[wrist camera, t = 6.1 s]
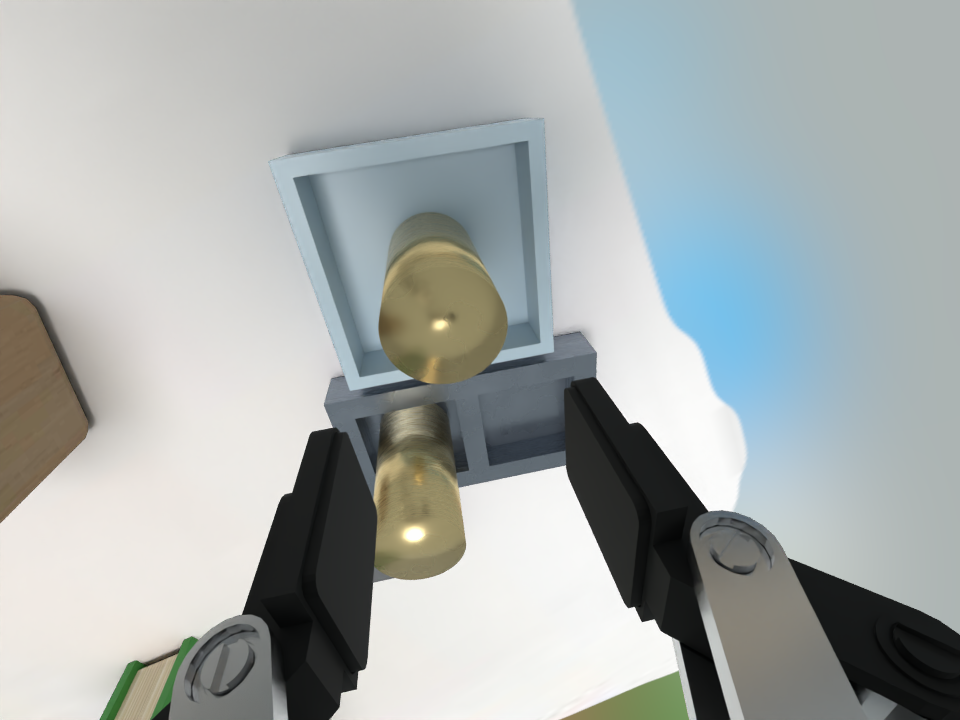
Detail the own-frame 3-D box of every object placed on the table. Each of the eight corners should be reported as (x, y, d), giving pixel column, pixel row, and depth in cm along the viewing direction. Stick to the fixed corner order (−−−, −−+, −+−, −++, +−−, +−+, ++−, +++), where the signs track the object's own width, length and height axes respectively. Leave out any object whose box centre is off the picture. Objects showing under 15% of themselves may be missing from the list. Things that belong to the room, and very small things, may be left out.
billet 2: (371, 407, 29) (356, 529, 20) (443, 393, 29) (457, 508, 21) (389, 459, 31) (382, 587, 23) (454, 446, 32) (472, 568, 23)
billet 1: (378, 220, 23) (362, 280, 15) (467, 205, 24) (500, 256, 15) (399, 302, 26) (395, 394, 17) (478, 288, 26) (513, 371, 18)
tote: (287, 154, 22) (267, 161, 19) (525, 118, 22) (544, 118, 19) (356, 361, 28) (349, 391, 25) (538, 327, 29) (553, 352, 26)
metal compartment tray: (368, 476, 33) (365, 506, 31) (331, 378, 28) (323, 404, 26) (580, 433, 34) (594, 459, 32) (580, 331, 29) (596, 352, 27)
